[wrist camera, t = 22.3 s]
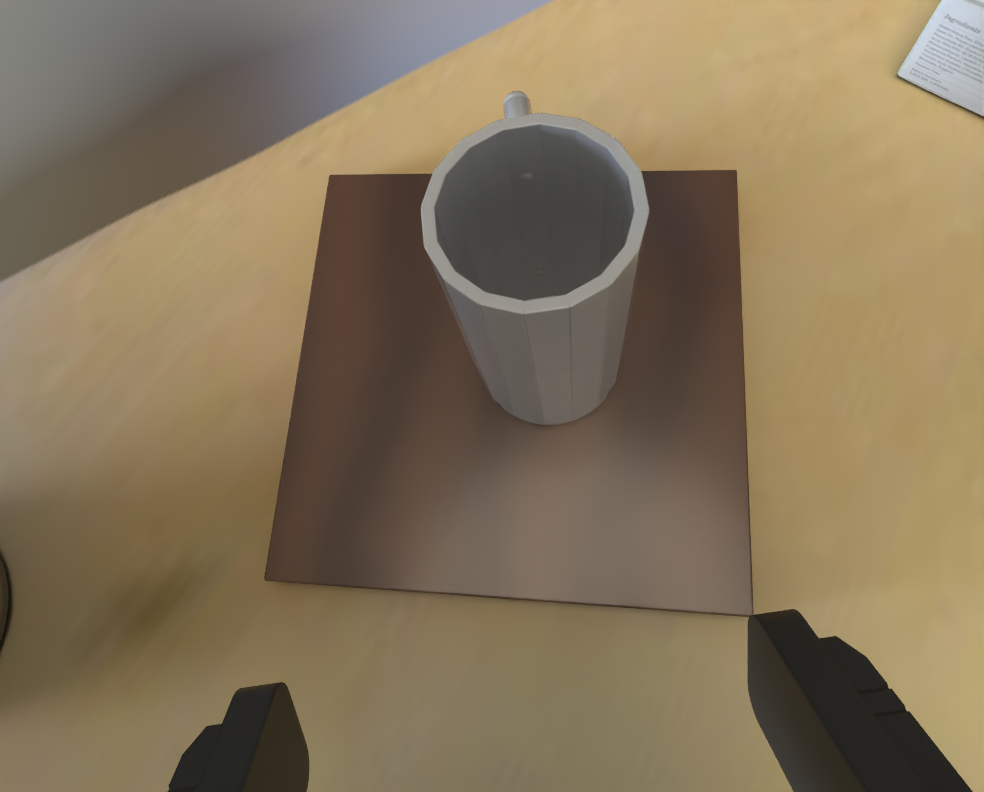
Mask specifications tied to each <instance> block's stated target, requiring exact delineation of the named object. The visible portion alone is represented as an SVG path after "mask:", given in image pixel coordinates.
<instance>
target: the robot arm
mask: <svg viewBox="0 0 984 792" xmlns="http://www.w3.org/2000/svg"><path fill="white" fill-rule="evenodd" d="M8 599H9V598H8V584H7V578H6V574H5V570H4V567H3V564H2V561H1V559H0V642H1V639H2V636H3V633H4V629H5V625H6V620H7V613H8ZM748 690H749V696H750V700H751V704H752V707H753V711H754V713H755V716H756V719H757V721H758V723H759V725H760V727H761V729H762V731H763V733H764V735H765V737H766V739H767V741H768V743H769V745H770V747H771V748H772V750H773V752H774V754H775V756H776V758H777V760H778V762H779V764H780V766H781V768H782V770H783V772H784V774H785V776H786V778H787V780H788V782H789V783H790V785H791V787H792V789H793V791H794V792H972V790H971V789H970V788H969V787H968V785H967V784H966V783H965V781H964V780H963V779H962V778H961V776H960V775H959V774H958V773H957V771H956V770H955V769H954V767H953V766H952V765H951V764H950V762H949V761H948V760H947V759H946V757H945V756H944V755H943V754H942V752H941V751H940V750H939V748H938V747H937V746H936V745H935V743H934V742H933V741H932V740H931V738H930V737H929V736H928V735H927V733H926V732H925V731H924V729H923V728H922V727H921V726H920V724H919V723H918V722H917V721H916V719H915V718H914V717H913V715H912V714H911V713H910V712H909V711H908V712H907V711H906V709H905V705H904V704H903V703H902V702H901V700H900V699H899V698H898V696H897V695H896V694H895V693H894V691H893V690H892V689H889V688H888V685H887V682H886V681H885V680H884V679H883V677H882V676H881V675H880V674H879V672H878V671H877V670H876V669H875V667H874V666H873V665H872V663H871V662H870V661H869V660H868V658H867V657H866V656H864V655H863V654H861V653H860V652H858V651H857V650H856V649H854V648H853V647H851V646H850V645H848V644H847V643H845V642H844V641H842V640H841V639H840V638H838V637H837V636H834V637H827V638H820V639H819V638H818V637H817V635H816V634H815V633H814V631H813V630H812V628H811V627H810V626H809V624H808V623H807V621H806V620H805V619H804V617H803V616H802V615H801V614H800V613H799V612H798V611H797V610H795V609H790V610H784V611H777V612H770V613H763V614H756V615H751V616H750V617H749V619H748ZM308 780H309V755H308V749H307V744H306V741H305V738H304V735H303V732H302V729H301V726H300V723H299V720H298V717H297V714H296V711H295V708H294V705H293V701H292V698H291V695H290V692H289V690H288V687H287V686H286V684H285V683H283V682H280V683H273V684H266V685H259V686H253V687H246V688H240V689H238V690H237V691H236V692H235V694H234V696H233V698H232V700H231V703H230V705H229V708H228V710H227V713H226V715H225V718H224V720H223V723H222V724H218V725H212V726H206V728H205V729H204V730H203V731H202V732H201V734H200V735H199V736H198V737H197V738H196V739H195V741H194V742H193V743H192V744H191V745H190V747H189V748H188V749H187V750H186V751H185V752H184V754H183V755H182V757H181V759H180V762H179V764H178V766H177V768H176V771H175V773H174V775H173V777H172V780H171V782H170V784H169V791H168V792H306V791H307V786H308Z"/></svg>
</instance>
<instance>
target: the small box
mask: <svg viewBox="0 0 984 792" xmlns="http://www.w3.org/2000/svg"><path fill="white" fill-rule="evenodd" d="M898 75H899V76H900V77H902V78H904V79H906V80H908V81H910V82H911V83H913V84H916V85H918V86H920V87H922V88H924V89H926V90H928V91H930V92H932V93H934V94H936V95H938V96H940V97H942V98H945V99H947V100H949V101H951V102H954V103H956V104H958V105H960V106H962V107H964V108H966V109H968V110H971V111H973V112H975V113H977V114H979V115H981V116H983V117H984V0H941V2H940V4H939V5H938V7H937V8H936V10H935V12H934V13H933V15H932V17H931V18H930V20H929V22H928V23H927V25H926V27H925V28H924V30H923V32H922V33H921V35H920V36H919V38H918V40H917V41H916V43H915V45H914V46H913V48H912V50H911V51H910V53H909V55H908V56H907V58H906V59H905V61H904V63H903V64H902V66H901V67H900V69H899V71H898Z"/></svg>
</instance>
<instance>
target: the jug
mask: <svg viewBox="0 0 984 792" xmlns="http://www.w3.org/2000/svg"><path fill="white" fill-rule="evenodd" d="M504 115H505V119H500V120H499V121H498V120H497V121H495V122H493V123H491V124H490V125H488V126H486V127H484V128H482V129H480V130H478V131H477V132H475V133H473V134H471V135H469V136H467V137H465V138H464V139H462V141H460V142H459V143H458V144H457V145H456V146H455V147H454V148H453V149H452V151H451V152H450V153H449V154H448V155H447V156H446V157H445V158H444V160H443V161H442V162H441V163H440V164H439V165H438V166H437V167H436V168H435V171H434V172H433V174H432V177H431V180H430V183H429V186H428V188H427V191H426V194H425V197H424V199H423V202H422V205H421V220H422V232H423V244H424V248H425V250H426V252H427V254H428V257H429V259H430V261H431V264H432V266H433V268H434V271H435V273H436V275H437V278H438V280H439V282H440V284H441V287H442V289H443V291H444V294H445V296H446V298H447V301H448V303H449V305H450V308H451V310H452V312H453V314H454V317H455V319H456V321H457V324H458V326H459V328H460V331H461V333H462V335H463V337H464V340H465V342H466V344H467V347H468V349H469V351H470V354H471V356H472V358H473V361H474V363H475V365H476V367H477V370H478V372H479V374H480V377H481V378H482V380H483V382H484V384H485V386H486V388H487V390H488V392H489V393H490V395H491V396H492V398H493V399H494V400H495V401H496V402H497V404H498V405H499V406H501V407H502V408H503V409H504V410H505V411H506V412H508V413H510V414H511V415H513V416H514V417H517V418H519V419H521V420H523V421H526V422H530V423H534V424H539V425H558V424H564V423H568V422H571V421H574V420H577V419H579V418H581V417H583V416H585V415H587V414H589V413H590V412H592V411H593V410H594V409H595V408H597V407H598V406H599V405H600V404H601V403H602V402H603V401H604V400H605V399H606V397H607V396H608V394H609V393H610V391H611V390H612V388H613V386H614V384H615V382H616V379H617V376H618V372H619V367H620V364H621V360H622V355H623V350H624V345H625V339H626V334H627V329H628V323H629V318H630V313H631V307H632V302H633V297H634V291H635V286H636V281H637V275H638V270H639V265H640V259H641V254H642V249H643V243H644V238H645V233H646V227H647V222H648V217H649V205H648V200H647V195H646V190H645V185H644V180H643V175H642V172H641V170H640V169H639V167H638V166H637V165H636V163H635V162H634V161H633V159H632V158H631V157H630V155H629V154H628V153H627V151H626V150H625V149H624V147H623V146H622V145H621V143H620V142H619V141H618V140H617V139H616V138H614V137H612V136H610V135H609V134H607V133H605V132H603V131H602V130H600V129H598V128H596V127H595V126H593V125H591V124H589V123H588V122H586V121H584V120H581V119H577V118H571V117H565V116H559V115H552V114H546V113H541V114H540V113H535V114H532V112H531V105H530V100H529V98H528V96H527V95H526V94H525V93H523V92H521V91H513V92H511V93H510V94H508V95H507V96H506V98H505V100H504Z"/></svg>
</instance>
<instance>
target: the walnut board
mask: <svg viewBox="0 0 984 792" xmlns="http://www.w3.org/2000/svg"><path fill="white" fill-rule="evenodd" d="M641 172H642V175H643V180H644V185H645V190H646V195H647V200H648V205H649V217H648V222H647V227H646V233H645V238H644V243H643V249H642V254H641V259H640V265H639V270H638V275H637V281H636V286H635V291H634V297H633V302H632V307H631V313H630V318H629V323H628V329H627V334H626V339H625V345H624V350H623V355H622V360H621V364H620V367H619V372H618V376H617V379H616V382H615V384H614V386H613V388H612V390H611V391H610V393H609V394H608V396H607V397H606V399H605V400H604V401H603V402H602V403H601V404H600V405H599V406H598V407H597V408H595V409H594V410H593V411H592V412H590V413H589V414H587V415H585V416H583V417H581V418H579V419H577V420H574V421H571V422H568V423H564V424H558V425H539V424H534V423H530V422H526V421H523V420H521V419H519V418H517V417H514V416H513V415H511V414H510V413H508V412H506V411H505V410H504V409H503V408H502V407H501V406H499V405H498V404H497V402H496V401H495V400H494V399H493V398H492V396H491V395H490V393H489V392H488V390H487V388H486V386H485V384H484V382H483V380H482V378H481V377H480V374H479V372H478V370H477V367H476V365H475V363H474V361H473V358H472V356H471V354H470V351H469V349H468V347H467V344H466V342H465V340H464V337H463V335H462V333H461V331H460V328H459V326H458V324H457V321H456V319H455V317H454V314H453V312H452V310H451V308H450V305H449V303H448V301H447V298H446V296H445V294H444V291H443V289H442V287H441V284H440V282H439V280H438V278H437V275H436V273H435V271H434V268H433V266H432V264H431V261H430V259H429V257H428V254H427V252H426V250H425V248H424V244H423V232H422V220H421V205H422V202H423V199H424V197H425V194H426V191H427V188H428V186H429V183H430V180H431V177H432V174H374V175H330V176H329V181H328V187H327V194H326V200H325V206H324V212H323V218H322V224H321V231H320V237H319V243H318V249H317V255H316V262H315V268H314V274H313V280H312V286H311V293H310V299H309V305H308V311H307V317H306V324H305V330H304V336H303V342H302V348H301V355H300V361H299V367H298V373H297V379H296V386H295V392H294V398H293V404H292V410H291V417H290V423H289V429H288V435H287V441H286V448H285V454H284V460H283V466H282V472H281V479H280V485H279V491H278V497H277V503H276V510H275V516H274V522H273V528H272V534H271V541H270V547H269V553H268V559H267V565H266V572H265V578H264V579H265V580H266V581H277V582H291V583H304V584H317V585H330V586H344V587H357V588H370V589H384V590H397V591H410V592H424V593H437V594H450V595H464V596H477V597H490V598H504V599H517V600H530V601H544V602H557V603H570V604H584V605H597V606H610V607H624V608H637V609H650V610H664V611H677V612H690V613H703V614H717V615H730V616H743V617H750V616H751V615H753V590H752V563H751V536H750V510H749V483H748V457H747V430H746V403H745V377H744V350H743V324H742V297H741V271H740V244H739V217H738V191H737V171H736V170H701V171H641Z"/></svg>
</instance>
